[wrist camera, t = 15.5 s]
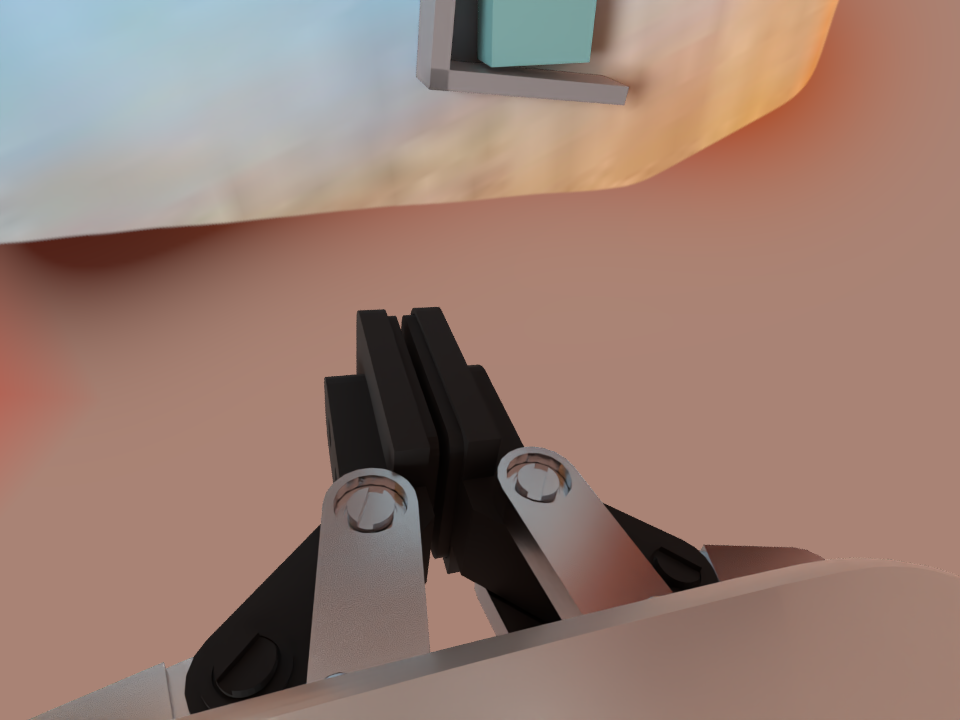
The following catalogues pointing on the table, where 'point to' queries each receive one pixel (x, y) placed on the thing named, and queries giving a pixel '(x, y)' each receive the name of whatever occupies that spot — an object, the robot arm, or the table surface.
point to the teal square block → (535, 32)
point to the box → (498, 68)
